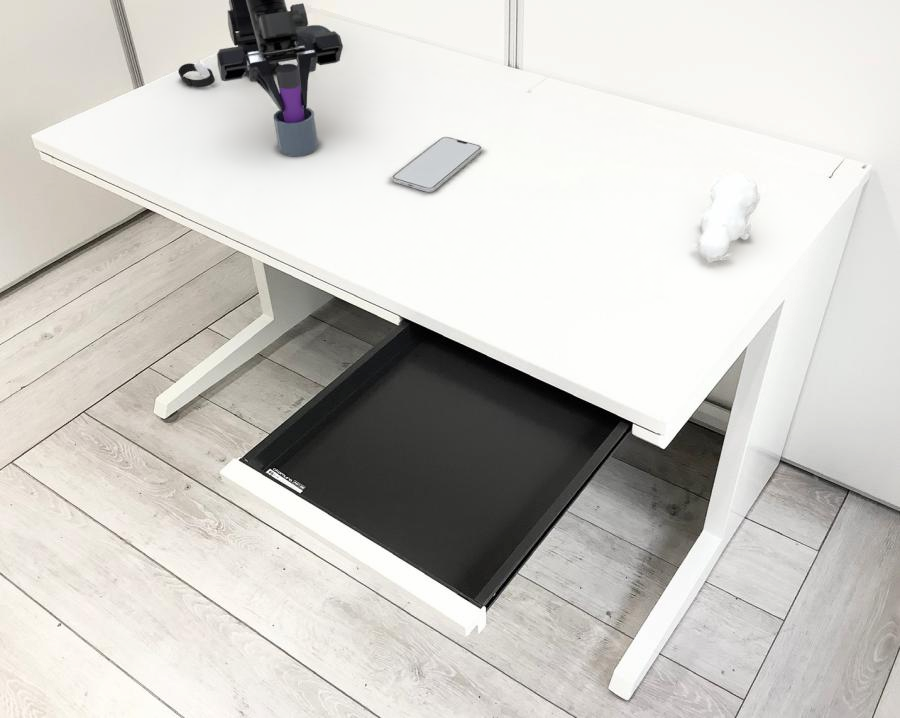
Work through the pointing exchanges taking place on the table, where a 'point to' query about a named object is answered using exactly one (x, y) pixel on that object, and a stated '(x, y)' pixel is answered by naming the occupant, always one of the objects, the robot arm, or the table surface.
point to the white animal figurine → (727, 215)
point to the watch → (199, 68)
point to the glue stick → (290, 93)
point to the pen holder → (296, 134)
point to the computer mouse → (309, 33)
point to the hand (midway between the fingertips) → (294, 109)
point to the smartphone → (437, 164)
